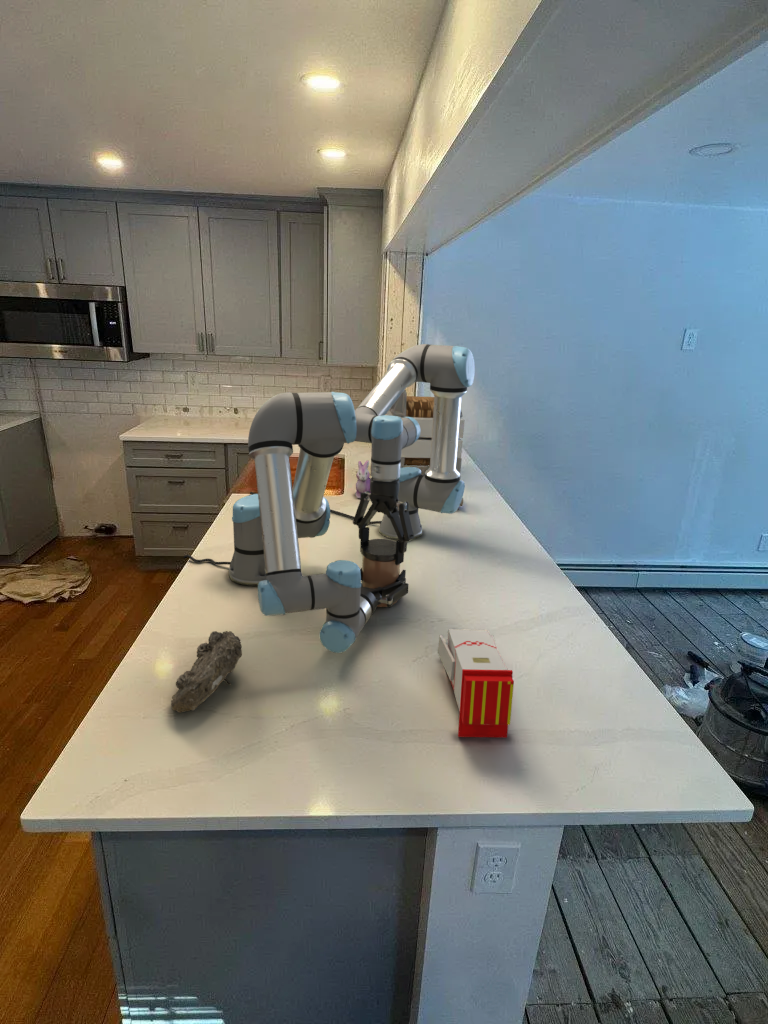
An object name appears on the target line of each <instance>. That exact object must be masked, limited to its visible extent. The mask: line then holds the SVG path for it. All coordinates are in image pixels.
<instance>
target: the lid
mask: <svg viewBox="0 0 768 1024" xmlns="http://www.w3.org/2000/svg"><path fill="white" fill-rule="evenodd" d="M396 541H397V540H394V539H390V538H372V539H371V538H370V539H369V540H368V541H365V542H363V543H362V545H361V552H360V554H361V555H363V556H364V557H366V558H368V559H371V560H376V561H391V560H395V558H396Z"/></svg>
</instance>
